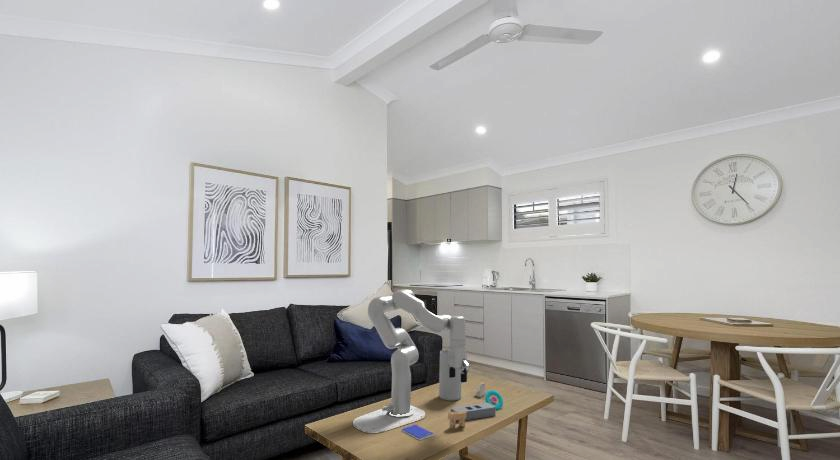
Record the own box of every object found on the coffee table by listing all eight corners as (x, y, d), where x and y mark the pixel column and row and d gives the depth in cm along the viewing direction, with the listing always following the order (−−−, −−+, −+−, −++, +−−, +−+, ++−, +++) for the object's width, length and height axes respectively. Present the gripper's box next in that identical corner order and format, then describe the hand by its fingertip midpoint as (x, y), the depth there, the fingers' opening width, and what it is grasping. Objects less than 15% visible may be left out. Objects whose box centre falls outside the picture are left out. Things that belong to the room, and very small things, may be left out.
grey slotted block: (458, 421, 200) (458, 412, 201) (450, 416, 207) (450, 408, 207) (495, 415, 210) (495, 406, 211) (487, 410, 216) (487, 402, 217)
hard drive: (434, 433, 184) (415, 424, 193) (420, 437, 178) (401, 428, 188) (434, 436, 184) (415, 427, 193) (420, 441, 178) (401, 432, 187)
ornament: (500, 396, 228) (483, 391, 228) (503, 393, 225) (486, 387, 225) (499, 415, 220) (481, 409, 220) (502, 412, 217) (484, 406, 217)
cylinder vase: (461, 394, 242) (462, 350, 243) (461, 401, 229) (462, 355, 231) (439, 393, 243) (440, 349, 245) (438, 400, 230) (439, 353, 232)
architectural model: (474, 396, 240) (474, 383, 240) (480, 393, 245) (480, 380, 246) (479, 398, 238) (480, 384, 238) (485, 395, 243) (485, 382, 244)
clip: (451, 429, 191) (451, 414, 191) (448, 427, 193) (448, 412, 194) (466, 426, 194) (466, 412, 195) (462, 424, 197) (463, 410, 197)
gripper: (441, 340, 205) (441, 376, 204) (461, 346, 190) (461, 385, 188) (454, 339, 209) (454, 374, 207) (474, 344, 193) (475, 383, 192)
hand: (457, 379), depth 198 cm, fingers open, 9 cm apart
